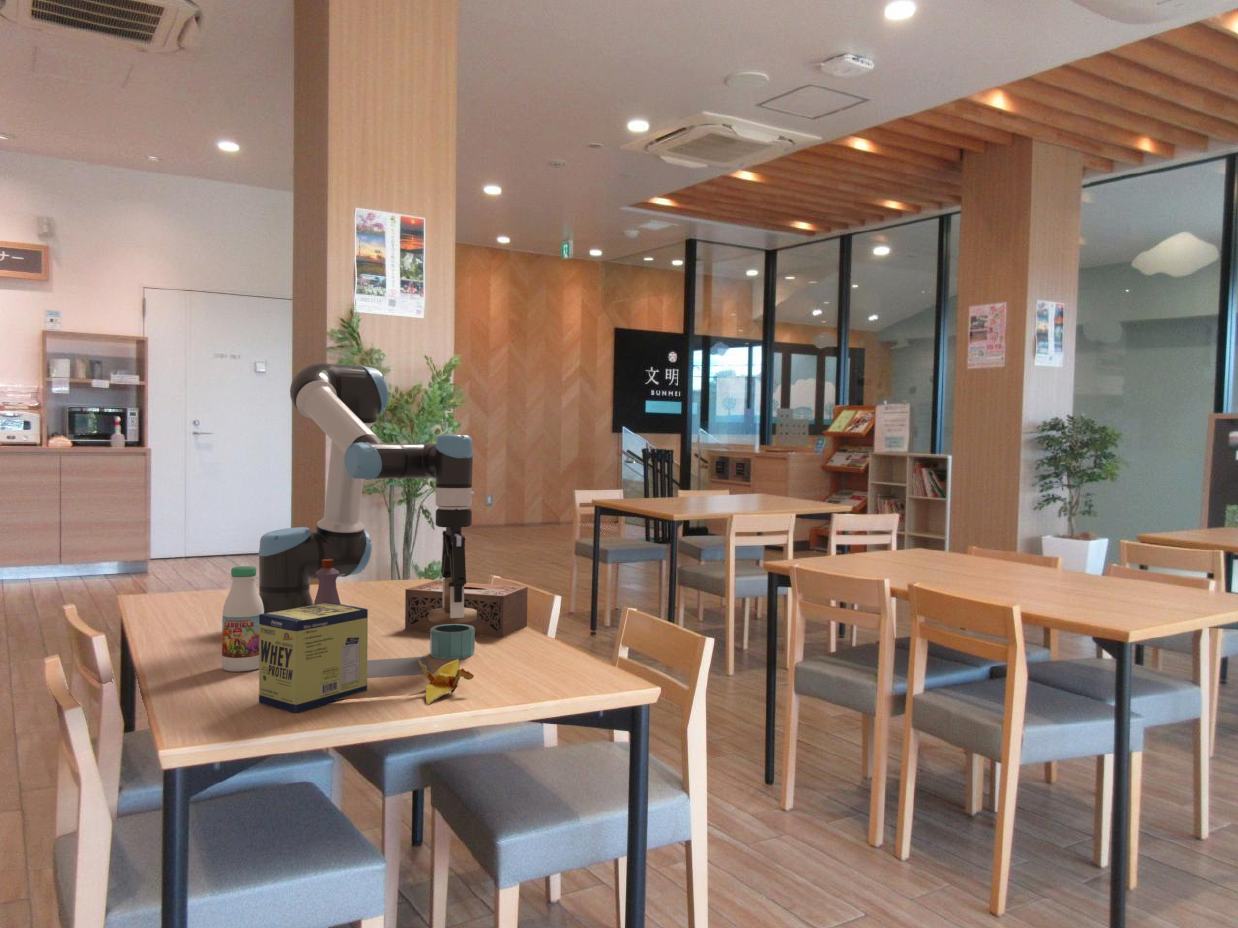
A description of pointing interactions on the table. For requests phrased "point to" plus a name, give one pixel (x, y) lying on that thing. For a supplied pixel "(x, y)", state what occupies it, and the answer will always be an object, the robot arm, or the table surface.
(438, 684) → the origami crane
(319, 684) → the protein box
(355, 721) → the table surface
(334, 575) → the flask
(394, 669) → the mat
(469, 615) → the lid
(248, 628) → the milk bottle
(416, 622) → the tissue box cover
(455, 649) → the teal short cylinder
